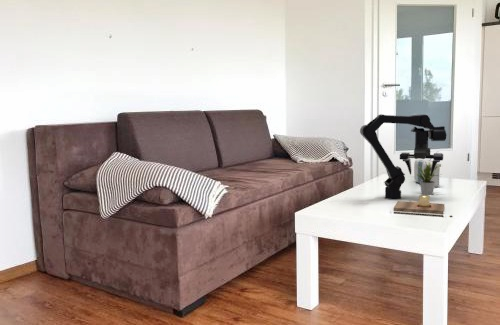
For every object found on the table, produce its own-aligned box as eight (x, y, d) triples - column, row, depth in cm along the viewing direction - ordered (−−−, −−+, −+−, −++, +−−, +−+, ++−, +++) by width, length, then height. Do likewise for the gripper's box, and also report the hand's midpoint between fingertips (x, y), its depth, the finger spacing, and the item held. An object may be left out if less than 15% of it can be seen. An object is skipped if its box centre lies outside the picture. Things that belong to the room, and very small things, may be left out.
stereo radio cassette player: (413, 181, 266) (414, 147, 264) (427, 181, 266) (428, 147, 263) (425, 188, 245) (426, 151, 243) (441, 188, 245) (442, 150, 243)
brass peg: (418, 213, 190) (418, 196, 189) (419, 211, 194) (419, 194, 193) (428, 213, 188) (429, 197, 188) (429, 211, 192) (429, 195, 191)
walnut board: (393, 213, 190) (393, 207, 190) (400, 202, 211) (400, 196, 211) (443, 217, 183) (443, 210, 182) (445, 205, 203) (445, 199, 203)
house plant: (449, 196, 221) (450, 163, 219) (420, 197, 221) (421, 164, 219) (437, 191, 235) (437, 159, 233) (410, 192, 235) (410, 160, 233)
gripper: (398, 142, 209) (397, 176, 211) (442, 143, 201) (441, 178, 203) (401, 140, 219) (401, 173, 221) (443, 141, 211) (442, 174, 213)
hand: (420, 174), depth 214 cm, fingers open, 9 cm apart
